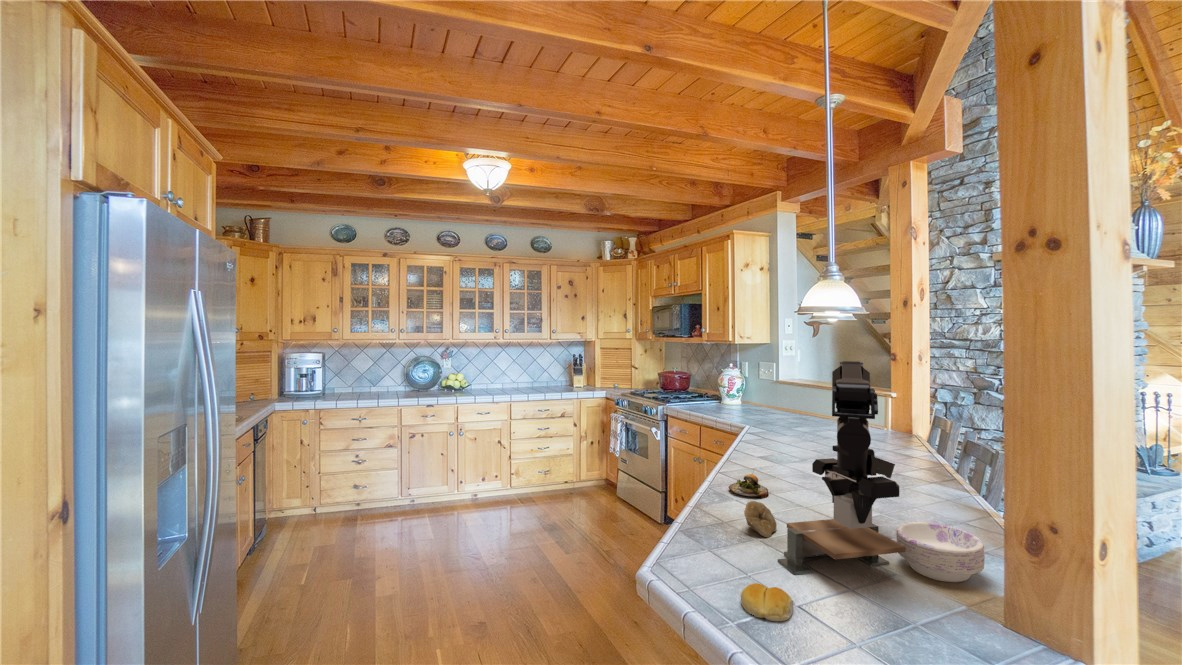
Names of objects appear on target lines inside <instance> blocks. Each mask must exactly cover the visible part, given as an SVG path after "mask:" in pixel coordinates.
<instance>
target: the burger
mask: <svg viewBox="0 0 1182 665" xmlns="http://www.w3.org/2000/svg"><path fill="white" fill-rule="evenodd" d="M754 471H755V469H753V471H752V472H754ZM728 489H730V490H731V491H732V492H733V493H734V494H737V495H740V496H744V497H745V496H746V497H760V500H763V499H766V498H767V497H769V496H770V495H769V489H768V488H767V487H765V486H764V485H761V484H760V483H759V478H758V476H756V475H755V474H753V473H751V474H750V473H748V474H745V475H744V476H743V480H740V479H737V481H736V482H735V483H732V484H730V485H729V486H728Z"/></svg>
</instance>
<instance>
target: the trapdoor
mask: <svg viewBox="0 0 1182 665" xmlns="http://www.w3.org/2000/svg"><path fill="white" fill-rule="evenodd" d="M786 528H787V529H788V528H795V529H796V530H798V531H799V532H801V533H803V548H802V557H803V556H812V555H822V554H828V555H827V556H829V557H831V558H832V559H834V560H842V559H852V558H857V557H862V556H872V555H879V556H880V555H889V554H898V553H900V552H906V547H905V546H903V545H901V544H899V543H897V541H895V540H893V539H891V538H889V537H887V536H885V535H884V534H881V533H879V531H878V532H876V531H874V530H872V529H870V528H868V527H867V528H856V529H849V528H848V527H846V526H844V525H842V524H840V523H839V522H837V521H835V520H834V518H830V519H819V520H818V519H817V520H808V521H807V520H806V521H796V522H787V523H786Z"/></svg>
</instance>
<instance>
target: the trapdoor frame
mask: <svg viewBox="0 0 1182 665" xmlns="http://www.w3.org/2000/svg"><path fill="white" fill-rule="evenodd" d="M868 528H870V529H872V530H874V531H876V532H878V533H879V526H878V524H877V525H876V524H875V523H873V522H872V527H868ZM786 533H787V536H786V539H787V542H786V544H787V547H786V548H787V550H786V551H783V557H784V558H779V559H778V558H777V563H778V564H779V565H780V566H782V567H784V569H786V570H787V571H788V572H789V573H791V574H792V575H794V576H797V575H805V574H813V573H814V570H813V569H812V567H811V568H810V567H809V565H807V564H805V563H804V562H803V558H804V559H805V558H813V557H815V558H816V557H824V556H829V555H828V554H822V555H812V556H803V557H802V548H803V533H801V532H799V531H798V530H796V529H795V528H787V531H786ZM856 558H858V559H859V560H860V561H862V562H864V563H866V564H867V565H869V566H870V567H879V566H887V565H890V561H889V560H887V559H885V558H883V557H882V556H880V555H872V556H862V557H856Z"/></svg>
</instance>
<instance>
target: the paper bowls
mask: <svg viewBox="0 0 1182 665" xmlns="http://www.w3.org/2000/svg"><path fill="white" fill-rule="evenodd" d="M895 532H896V533H895V535H896V538H895V539H896V542H897V543H899V544H901V545H903V546H905V547H906V552H900V553H897V554H898V555H899V556H900V557H902V558H903V559H904V560H906V561H907V563H908V565H909V566H910V567H911V568H912V569H913V571H915V572H916V573H918V574H919V575H922V576H924V577H926V578H930V579H932V580H936V581H939V582H946V583H961V582H962V583H963V582H966V581H967V580H968V579H970V578H971V576H972V575H974V574H978V573H980V572H982V571H983V570H984V569H985V558H986V557H985V544H984V542H983V541H982V540H981V539H980V538H979V537H978V536H976V535H974V534H973V533H970V532H969V531H965V530H964V529H960V528H957V527H954V526H950V525H946V524H940V523H934V522H924V521H922V522H921V521H919V522H918V521H914V522H913V521H912V522H904V523H902V524H900V525H898V526H897V527H896V531H895Z"/></svg>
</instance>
